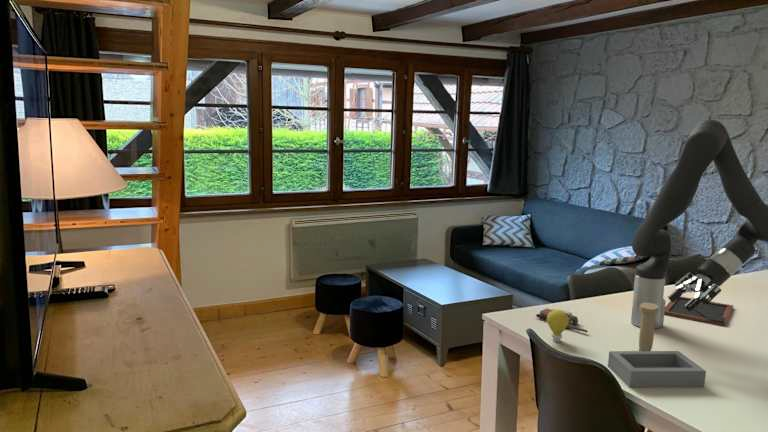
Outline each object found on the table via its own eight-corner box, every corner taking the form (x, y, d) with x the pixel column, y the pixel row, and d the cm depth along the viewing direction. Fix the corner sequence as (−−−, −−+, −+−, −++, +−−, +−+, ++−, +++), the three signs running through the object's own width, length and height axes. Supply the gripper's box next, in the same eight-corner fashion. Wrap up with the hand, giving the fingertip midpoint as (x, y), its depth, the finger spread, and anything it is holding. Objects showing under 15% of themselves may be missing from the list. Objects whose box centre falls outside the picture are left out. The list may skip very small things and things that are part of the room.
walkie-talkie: (532, 320, 197) (585, 336, 183) (532, 308, 197) (586, 323, 182) (545, 315, 203) (598, 330, 189) (546, 303, 202) (599, 317, 188)
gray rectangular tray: (676, 365, 160) (678, 351, 160) (704, 387, 147) (706, 370, 147) (607, 366, 159) (609, 351, 159) (629, 387, 147) (630, 371, 146)
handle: (655, 352, 170) (660, 304, 167) (651, 359, 164) (656, 310, 162) (638, 348, 172) (642, 301, 170) (633, 355, 167) (638, 307, 165)
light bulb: (542, 336, 181) (544, 306, 180) (562, 336, 182) (564, 306, 180) (550, 344, 175) (552, 313, 173) (571, 344, 175) (573, 313, 174)
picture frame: (724, 328, 193) (732, 309, 213) (725, 322, 192) (733, 304, 212) (661, 315, 205) (674, 299, 224) (661, 310, 204) (675, 294, 224)
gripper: (697, 252, 171) (657, 289, 173) (728, 264, 157) (684, 303, 159) (712, 269, 173) (672, 305, 174) (744, 282, 159) (700, 321, 160)
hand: (678, 304), depth 166 cm, fingers open, 8 cm apart
